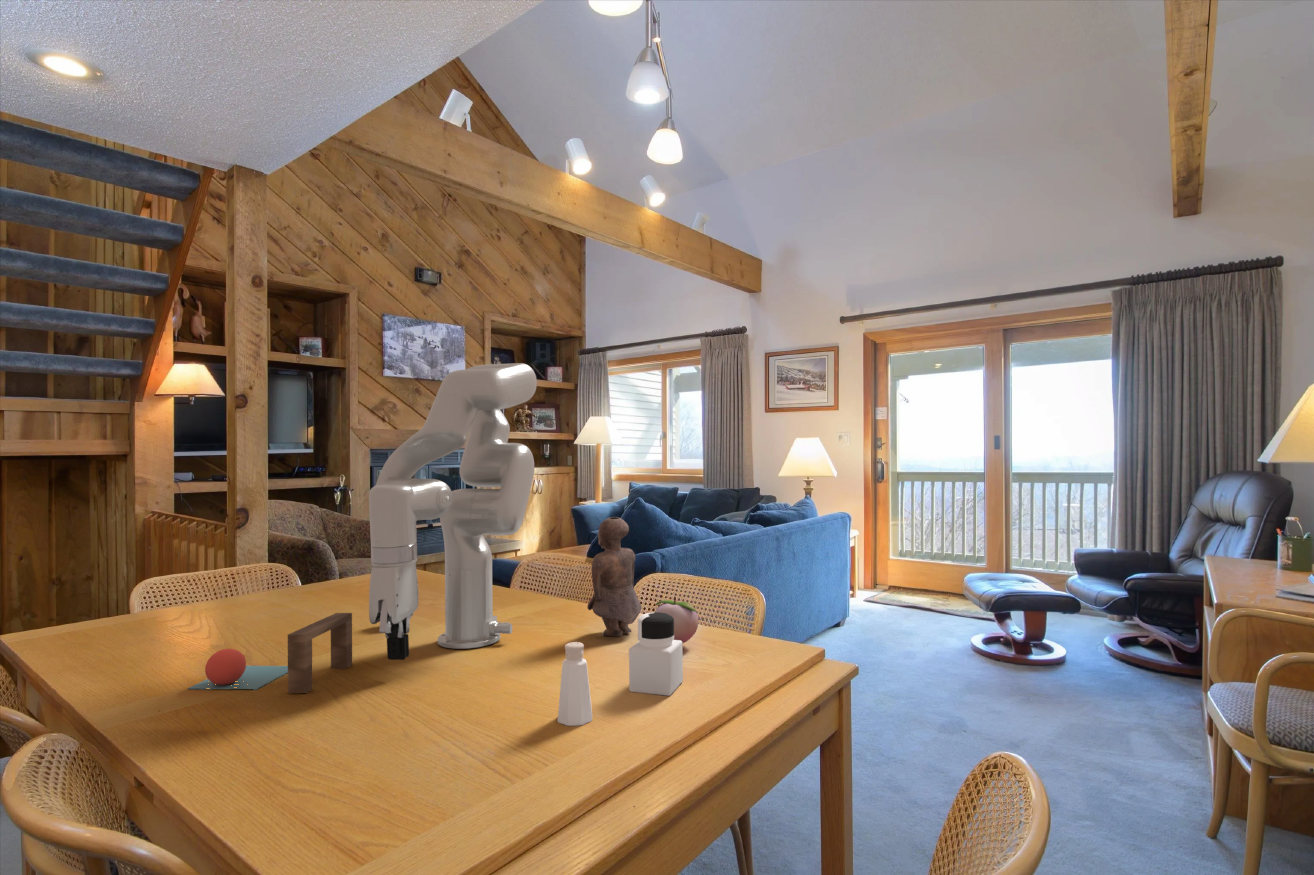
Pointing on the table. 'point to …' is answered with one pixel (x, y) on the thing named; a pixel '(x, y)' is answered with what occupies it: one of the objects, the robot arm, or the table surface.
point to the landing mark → (249, 678)
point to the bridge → (303, 649)
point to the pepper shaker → (574, 688)
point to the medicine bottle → (655, 656)
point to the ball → (225, 666)
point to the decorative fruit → (680, 618)
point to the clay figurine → (614, 580)
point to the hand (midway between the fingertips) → (398, 657)
